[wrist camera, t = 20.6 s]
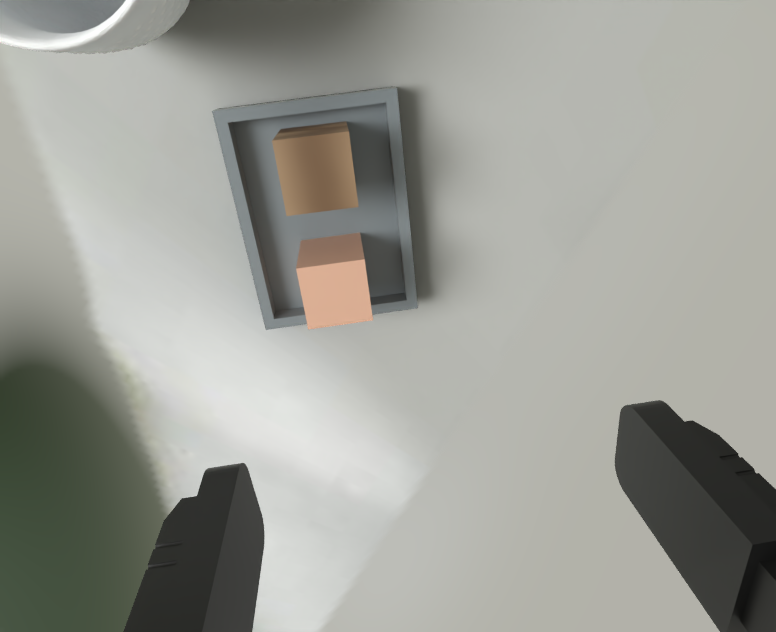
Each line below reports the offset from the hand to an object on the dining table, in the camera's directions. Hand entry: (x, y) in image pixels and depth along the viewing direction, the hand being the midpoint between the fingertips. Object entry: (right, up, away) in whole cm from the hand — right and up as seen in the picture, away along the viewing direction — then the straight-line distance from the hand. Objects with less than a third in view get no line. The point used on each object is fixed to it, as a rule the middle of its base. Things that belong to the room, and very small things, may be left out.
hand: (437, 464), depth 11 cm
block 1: (-6, +14, +26) cm, 30 cm away
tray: (-6, +11, +28) cm, 30 cm away
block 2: (-5, +7, +29) cm, 30 cm away
